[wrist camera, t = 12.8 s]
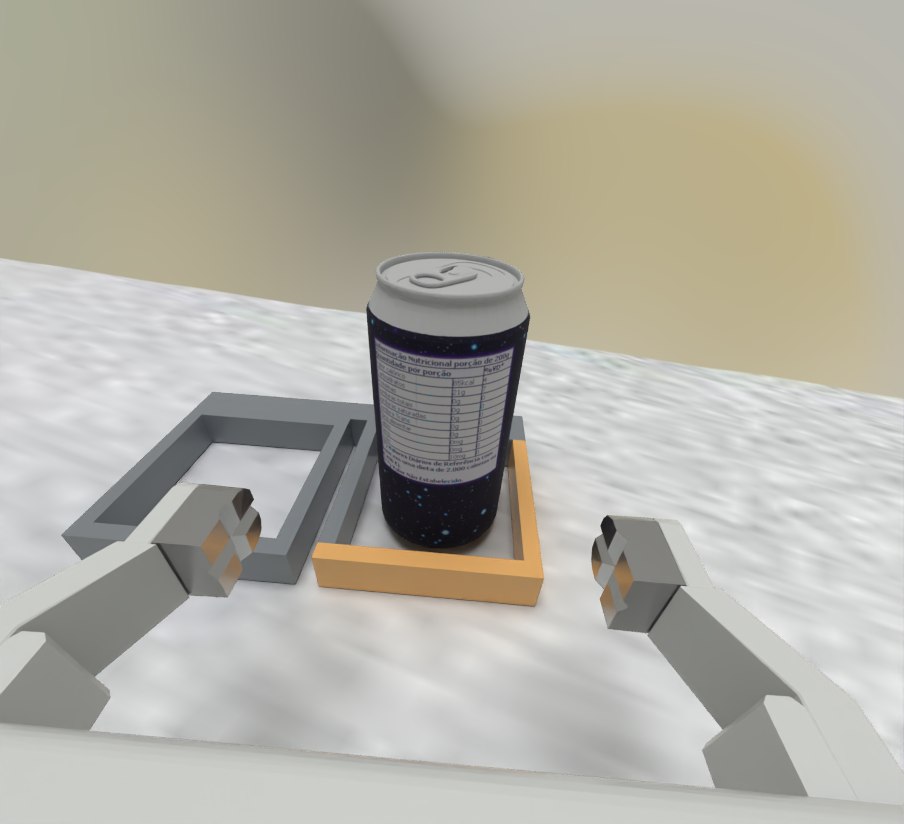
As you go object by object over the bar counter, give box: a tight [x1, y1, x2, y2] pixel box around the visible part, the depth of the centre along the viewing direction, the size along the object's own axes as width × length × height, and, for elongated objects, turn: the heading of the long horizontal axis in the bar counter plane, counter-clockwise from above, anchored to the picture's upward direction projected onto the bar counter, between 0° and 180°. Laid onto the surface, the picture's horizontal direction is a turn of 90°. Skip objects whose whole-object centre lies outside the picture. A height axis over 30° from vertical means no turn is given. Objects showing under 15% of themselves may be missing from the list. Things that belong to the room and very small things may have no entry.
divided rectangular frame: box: [62, 392, 544, 606], centre depth 20 cm, size 19×11×2 cm, turn 86°
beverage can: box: [367, 252, 530, 548], centre depth 17 cm, size 6×6×12 cm
